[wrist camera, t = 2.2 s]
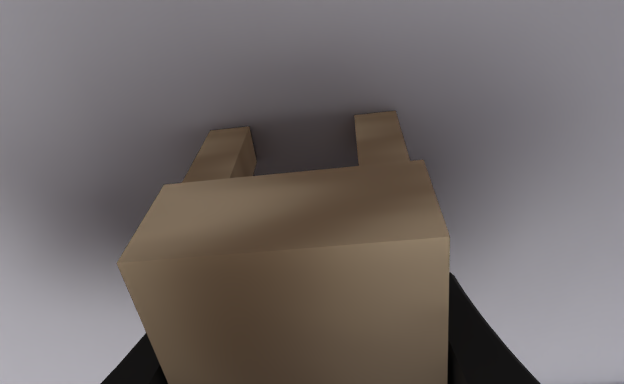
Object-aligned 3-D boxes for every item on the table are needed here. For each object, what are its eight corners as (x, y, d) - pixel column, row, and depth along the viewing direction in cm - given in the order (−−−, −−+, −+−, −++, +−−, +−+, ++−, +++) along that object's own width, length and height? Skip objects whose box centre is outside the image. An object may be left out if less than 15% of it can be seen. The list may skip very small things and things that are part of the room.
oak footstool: (404, 101, 12) (449, 236, 7) (412, 337, 16) (445, 522, 11) (200, 123, 12) (116, 263, 7) (259, 346, 16) (229, 527, 11)
